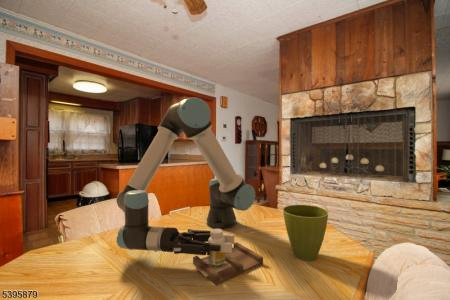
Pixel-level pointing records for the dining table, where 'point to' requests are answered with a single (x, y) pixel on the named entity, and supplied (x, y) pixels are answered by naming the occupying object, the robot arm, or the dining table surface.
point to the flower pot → (305, 229)
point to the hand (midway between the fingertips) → (232, 243)
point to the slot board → (229, 264)
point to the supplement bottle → (216, 257)
